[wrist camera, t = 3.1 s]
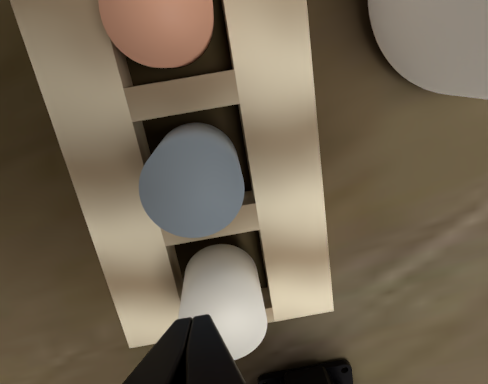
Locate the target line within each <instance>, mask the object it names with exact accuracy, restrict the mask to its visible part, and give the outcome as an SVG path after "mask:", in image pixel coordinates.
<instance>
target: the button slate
mask: <svg viewBox="0 0 488 384" xmlns="http://www.w3.org/2000/svg"><path fill="white" fill-rule="evenodd" d="M139 196H140V200H141V203H142V206H143V208H144V210H145V212H146V213H147V215H148V216H149V218H150V219H151V220H152V221H153V222H154V223H155V224H156V225H158V226H159V227H160V228H162V229H163V230H165V231H167V232H169V233H171V234H174V235H176V236H180V237H187V238H199V237H205V236H209V235H212V234H214V233H217V232H219V231H220V230H222V229H223V228H225V227H226V226H227V225H229V224H230V223H231V222H232V221H233V219H234V218H235V217H236V215H237V214H238V212H239V210H240V208H241V206H242V203H243V199H244V180H243V176H242V172H241V168H240V164H239V160H238V156H237V152H236V149H235V146H234V145H233V143H232V141H231V140H230V139H229V137H228V136H227V135H226V134H225V133H224V132H222V131H221V130H219V129H218V128H216V127H214V126H212V125H209V124H205V123H187V124H183V125H181V126H178V127H176V128H174V129H173V130H172V131H170V132H169V133H168V134H167V135H166V136H165V137H164V138H163V140H162V141H161V142H160V144H159V145H158V146H157V148H156V149H155V151H154V152H153V153H152V155H151V156H150V157H149V159H148V160H147V161H146V163H145V165H144V167H143V169H142V171H141V174H140V179H139Z"/></svg>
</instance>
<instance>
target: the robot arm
mask: <svg viewBox="0 0 488 384" xmlns="http://www.w3.org/2000/svg"><path fill="white" fill-rule="evenodd" d="M344 367H345V368H344ZM264 382H266V383H264ZM122 384H246V382H245V380H244V378H243V376H242V374H241V372H240V371H239V369H238V367H237V365H236V363H235V361H234V359H233V357H232V356H231V354H230V352H229V350H228V348H227V346H226V344H225V342H224V341H223V339H222V337H221V335H220V333H219V331H218V329H217V327H216V325H215V324H214V322H213V320H212V318H211V316H210V315H209V314H205V315H199V316H195V317H193V319H192V318H191V317H187V318H181V319H177V320H175V321H174V322H173V323H172V325H171V326H170V327H169V328H168V329H167V331H166V332H165V333H164V334H163V335H162V337H161V338H160V339H159V340H158V341H157V343H156V344H155V345H154V346H153V347H152V349H151V350H150V351H149V352H148V353H147V355H146V356H145V357H144V358H143V359H142V361H141V362H140V363H139V364H138V365H137V367H136V368H135V369H134V370H133V371H132V373H131V374H130V375H129V376H128V377H127V379H126V380H125V381H124V382H123V383H122ZM257 384H353V378H352V368H351V365H350V363H349V362H348V361H347V360H340V361H334V362H329V363H324V364H318V365H313V366H307V367H302V368H297V369H291V370H286V371H280V372H275V373H270V374H264V375H261V376H259V377H258V379H257Z"/></svg>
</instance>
